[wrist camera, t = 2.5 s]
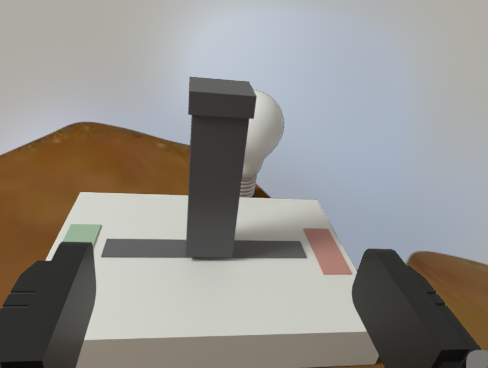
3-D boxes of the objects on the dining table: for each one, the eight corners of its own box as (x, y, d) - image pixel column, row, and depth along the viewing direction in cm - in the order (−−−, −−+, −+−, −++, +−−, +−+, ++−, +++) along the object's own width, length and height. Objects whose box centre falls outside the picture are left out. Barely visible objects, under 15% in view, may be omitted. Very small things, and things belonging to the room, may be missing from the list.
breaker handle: (231, 231, 26) (248, 81, 21) (235, 259, 24) (256, 96, 19) (183, 231, 26) (189, 76, 21) (182, 259, 23) (189, 91, 18)
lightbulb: (280, 212, 36) (301, 102, 31) (217, 216, 34) (227, 100, 29) (259, 180, 41) (274, 82, 36) (204, 183, 39) (211, 79, 34)
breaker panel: (310, 226, 34) (317, 198, 33) (375, 364, 22) (390, 329, 21) (84, 222, 31) (80, 191, 29) (14, 380, 19) (2, 341, 17)
